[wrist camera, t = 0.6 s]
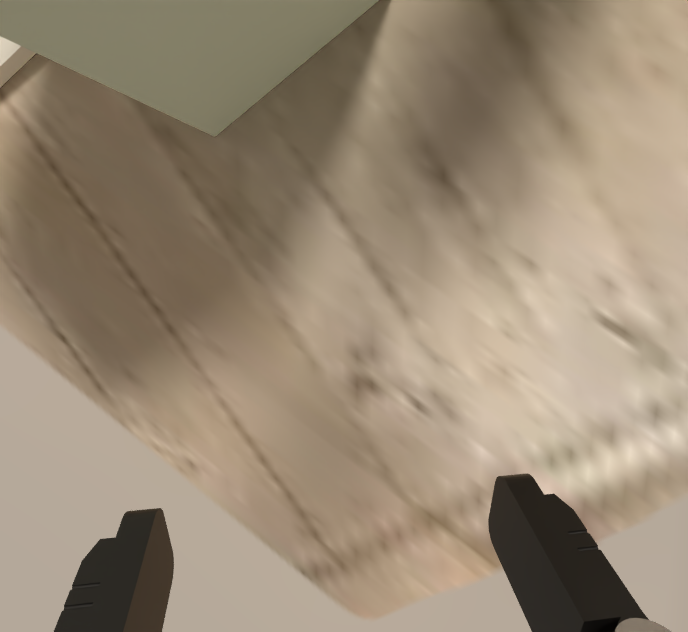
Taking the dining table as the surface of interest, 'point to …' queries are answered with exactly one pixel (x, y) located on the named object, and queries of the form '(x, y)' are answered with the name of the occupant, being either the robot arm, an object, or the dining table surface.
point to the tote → (181, 47)
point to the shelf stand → (12, 59)
